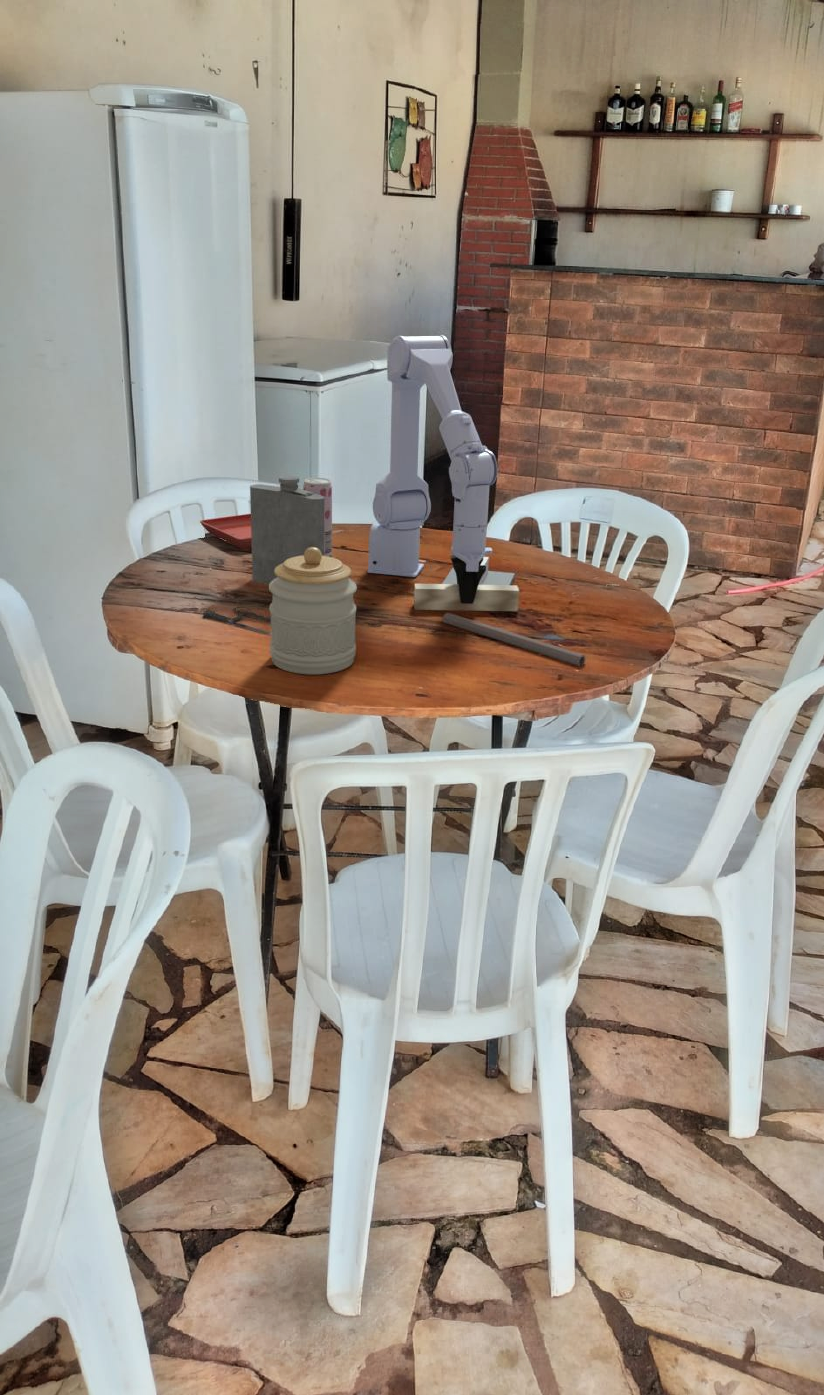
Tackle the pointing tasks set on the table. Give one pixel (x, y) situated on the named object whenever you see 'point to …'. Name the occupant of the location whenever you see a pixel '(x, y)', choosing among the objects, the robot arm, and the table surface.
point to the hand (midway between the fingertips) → (466, 599)
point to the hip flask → (283, 525)
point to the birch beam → (450, 600)
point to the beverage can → (325, 489)
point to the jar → (312, 615)
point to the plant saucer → (231, 529)
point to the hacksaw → (238, 619)
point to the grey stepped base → (485, 576)
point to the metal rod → (515, 639)
